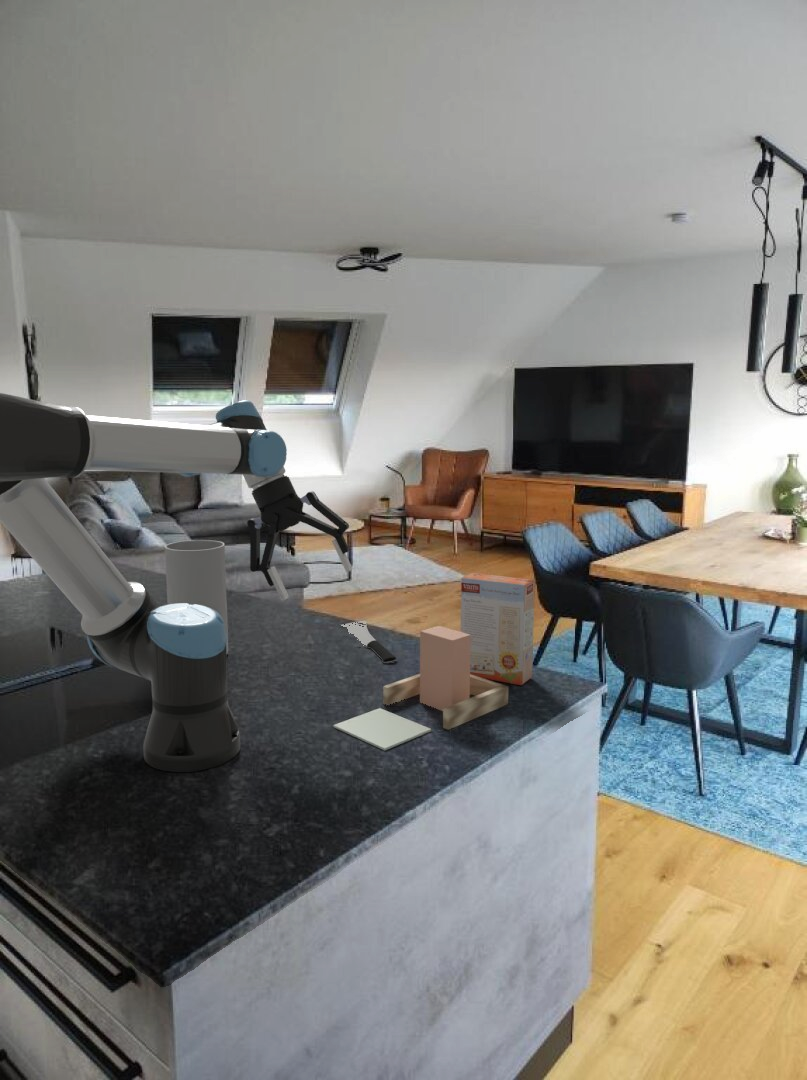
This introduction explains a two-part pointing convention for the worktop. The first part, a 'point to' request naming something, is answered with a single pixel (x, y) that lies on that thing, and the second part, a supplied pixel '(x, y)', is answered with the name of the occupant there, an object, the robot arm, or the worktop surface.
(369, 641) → the kitchen cleaver
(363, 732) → the sage mat
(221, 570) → the cylinder vase
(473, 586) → the cracker box
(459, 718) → the birch bay
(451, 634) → the peach block
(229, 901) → the worktop surface
